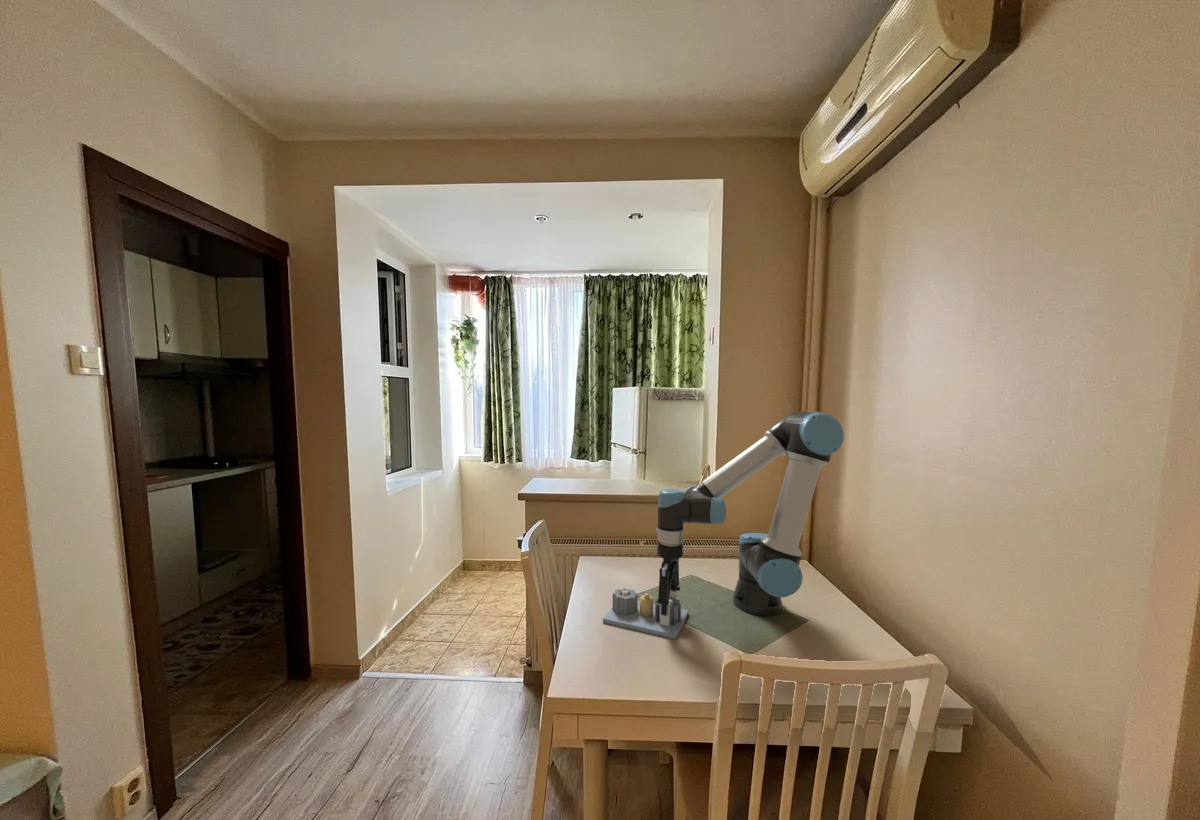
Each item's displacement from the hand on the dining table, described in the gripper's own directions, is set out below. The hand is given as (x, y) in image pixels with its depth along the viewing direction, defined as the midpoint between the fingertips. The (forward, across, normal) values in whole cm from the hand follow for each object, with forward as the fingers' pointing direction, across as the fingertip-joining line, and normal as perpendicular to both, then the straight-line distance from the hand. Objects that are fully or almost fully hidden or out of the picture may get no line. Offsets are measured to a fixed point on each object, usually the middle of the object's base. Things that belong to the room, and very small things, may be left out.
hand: (668, 618), depth 130 cm
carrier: (+2, 0, -7) cm, 7 cm away
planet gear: (0, 0, 0) cm, 0 cm away
